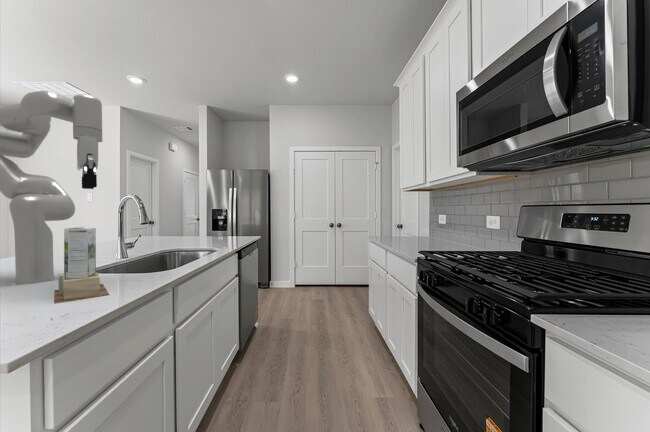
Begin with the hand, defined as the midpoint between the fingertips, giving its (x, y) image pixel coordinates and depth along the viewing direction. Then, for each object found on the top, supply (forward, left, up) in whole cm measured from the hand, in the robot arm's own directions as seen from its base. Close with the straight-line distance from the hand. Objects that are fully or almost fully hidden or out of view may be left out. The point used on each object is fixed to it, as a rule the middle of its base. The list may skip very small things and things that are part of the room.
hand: (89, 187), depth 99 cm
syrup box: (+12, -3, -27) cm, 30 cm away
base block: (+12, -3, -32) cm, 34 cm away
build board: (+10, -3, -33) cm, 35 cm away
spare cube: (+4, -5, -32) cm, 33 cm away
